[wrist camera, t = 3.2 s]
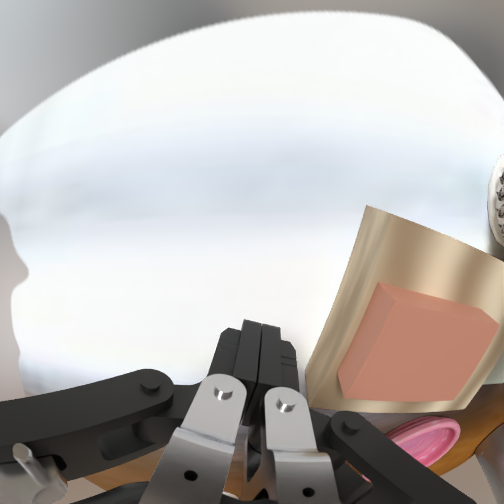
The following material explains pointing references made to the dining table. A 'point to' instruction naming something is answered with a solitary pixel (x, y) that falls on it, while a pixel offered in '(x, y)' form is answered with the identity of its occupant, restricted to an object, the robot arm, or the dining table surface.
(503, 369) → the mat
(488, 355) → the panel
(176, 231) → the dining table surface
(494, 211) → the decorative candle
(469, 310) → the salmon pink brick
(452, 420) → the saucer
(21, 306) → the dining table surface
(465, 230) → the dining table surface
